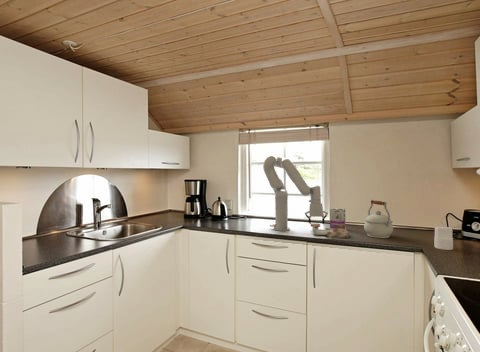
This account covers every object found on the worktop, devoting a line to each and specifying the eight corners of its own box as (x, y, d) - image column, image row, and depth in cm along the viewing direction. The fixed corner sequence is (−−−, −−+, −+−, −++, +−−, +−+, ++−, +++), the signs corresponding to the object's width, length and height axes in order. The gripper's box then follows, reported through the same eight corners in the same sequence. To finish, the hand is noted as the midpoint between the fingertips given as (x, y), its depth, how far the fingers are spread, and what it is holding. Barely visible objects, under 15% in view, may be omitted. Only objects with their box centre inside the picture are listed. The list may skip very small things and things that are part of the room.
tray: (313, 234, 197) (313, 229, 197) (312, 230, 210) (312, 226, 210) (334, 235, 194) (334, 230, 194) (332, 231, 207) (332, 226, 207)
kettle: (401, 239, 188) (401, 202, 188) (376, 240, 185) (376, 202, 185) (377, 231, 213) (377, 198, 213) (355, 232, 210) (355, 199, 210)
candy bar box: (345, 229, 223) (345, 208, 223) (344, 230, 219) (344, 209, 219) (331, 227, 228) (331, 207, 228) (329, 228, 224) (329, 208, 224)
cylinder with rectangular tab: (445, 245, 170) (445, 226, 170) (457, 249, 161) (457, 229, 161) (430, 245, 170) (430, 226, 170) (441, 249, 161) (441, 229, 161)
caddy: (327, 236, 194) (327, 231, 194) (325, 232, 208) (325, 228, 208) (348, 237, 192) (348, 232, 192) (345, 233, 205) (345, 228, 205)
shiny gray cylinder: (312, 231, 214) (312, 226, 214) (312, 230, 218) (312, 225, 218) (318, 231, 213) (318, 226, 213) (318, 230, 217) (318, 225, 217)
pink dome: (310, 227, 213) (310, 224, 213) (310, 225, 220) (310, 223, 220) (320, 227, 211) (320, 224, 211) (319, 225, 218) (319, 223, 218)
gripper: (304, 202, 213) (305, 224, 213) (327, 201, 210) (328, 224, 210) (304, 201, 221) (305, 222, 221) (326, 201, 217) (327, 222, 217)
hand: (316, 223), depth 215 cm, fingers open, 9 cm apart
